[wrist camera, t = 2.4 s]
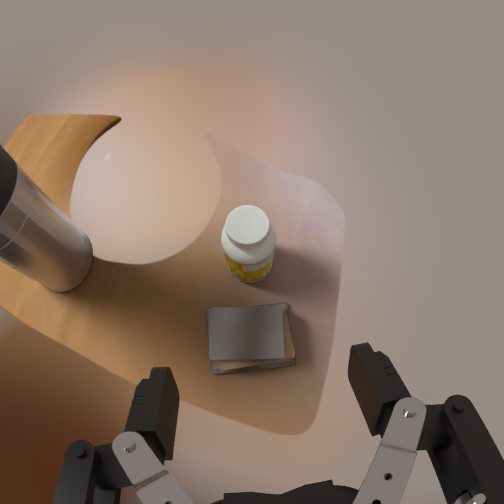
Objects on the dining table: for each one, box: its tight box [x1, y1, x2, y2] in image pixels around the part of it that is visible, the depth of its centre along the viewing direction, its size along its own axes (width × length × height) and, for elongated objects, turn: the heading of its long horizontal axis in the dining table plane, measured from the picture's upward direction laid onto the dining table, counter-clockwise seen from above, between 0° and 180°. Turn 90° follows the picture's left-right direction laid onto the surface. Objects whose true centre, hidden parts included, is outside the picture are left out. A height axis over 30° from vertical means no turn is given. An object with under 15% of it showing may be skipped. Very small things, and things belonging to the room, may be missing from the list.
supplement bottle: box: [221, 205, 276, 283], centre depth 32 cm, size 5×5×10 cm
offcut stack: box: [206, 302, 296, 374], centre depth 31 cm, size 9×7×4 cm
